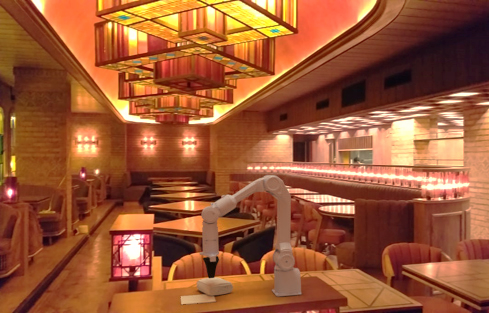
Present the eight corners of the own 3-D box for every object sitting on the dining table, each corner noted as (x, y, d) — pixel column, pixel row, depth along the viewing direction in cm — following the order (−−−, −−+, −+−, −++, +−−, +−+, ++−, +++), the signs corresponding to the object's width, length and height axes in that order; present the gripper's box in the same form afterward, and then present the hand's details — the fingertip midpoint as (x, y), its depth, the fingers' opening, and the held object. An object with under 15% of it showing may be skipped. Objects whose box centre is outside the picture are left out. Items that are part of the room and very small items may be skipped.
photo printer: (233, 293, 155) (217, 286, 165) (233, 281, 155) (217, 275, 165) (209, 297, 149) (194, 289, 159) (209, 285, 149) (194, 278, 160)
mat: (213, 294, 153) (212, 293, 153) (215, 301, 145) (215, 301, 145) (180, 297, 151) (180, 296, 151) (181, 304, 142) (181, 304, 142)
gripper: (197, 237, 156) (198, 273, 155) (201, 243, 142) (201, 283, 141) (216, 236, 157) (217, 272, 157) (221, 242, 143) (222, 282, 142)
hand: (211, 277), depth 149 cm, fingers closed
